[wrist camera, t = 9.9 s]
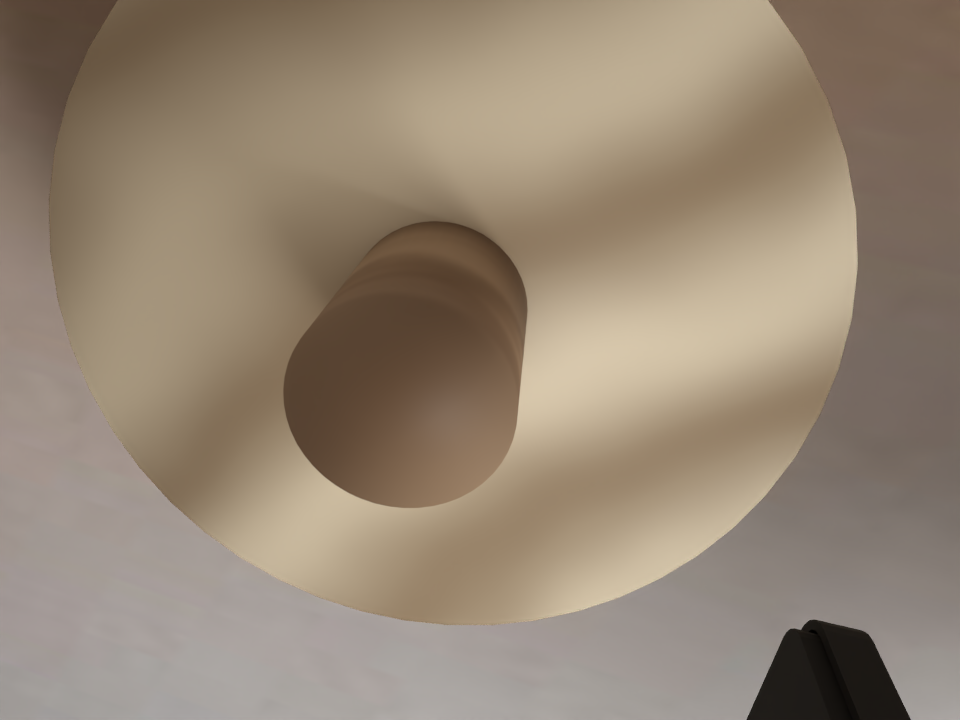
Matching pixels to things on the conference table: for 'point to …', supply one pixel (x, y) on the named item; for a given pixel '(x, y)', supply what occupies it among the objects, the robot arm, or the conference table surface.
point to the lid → (455, 283)
